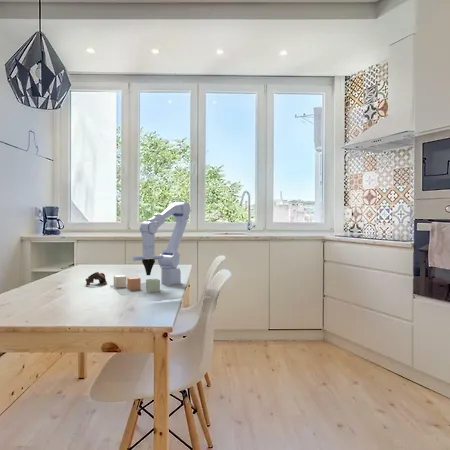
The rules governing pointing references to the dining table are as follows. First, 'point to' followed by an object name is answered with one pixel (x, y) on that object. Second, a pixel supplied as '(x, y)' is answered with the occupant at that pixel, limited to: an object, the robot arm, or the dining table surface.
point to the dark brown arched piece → (96, 278)
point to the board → (129, 292)
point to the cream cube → (120, 281)
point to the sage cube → (152, 285)
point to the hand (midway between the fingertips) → (148, 275)
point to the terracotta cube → (133, 283)
